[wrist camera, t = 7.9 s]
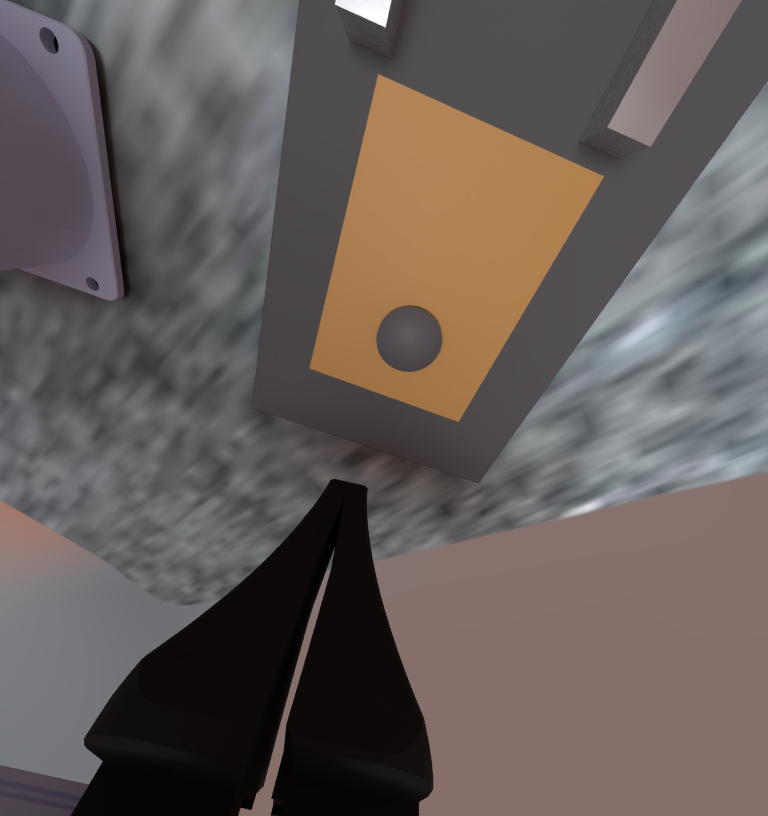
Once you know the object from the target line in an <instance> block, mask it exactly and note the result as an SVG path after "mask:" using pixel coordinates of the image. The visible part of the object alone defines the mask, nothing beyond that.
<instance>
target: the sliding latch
mask: <svg viewBox="0 0 768 816" xmlns="http://www.w3.org/2000/svg"><path fill="white" fill-rule="evenodd" d="M405 1H406V0H336V1H335V6H336V8H337V11H338V13H339V16H340V19H341V21H342V24H343V26H344V29H345V31H346V34H347V36H348V39H349V41H350V42H352V43H354V44H357V45H359V46H361V47H363V48H366V49H368V50H370V51H372V52H375V53H377V54H379V55H381V56H384V57H386V58H388V59H392V55H393V51H394V47H395V43H396V38H397V34H398V30H399V26H400V22H401V17H402V13H403V9H404V5H405ZM741 1H742V0H652V2H651V4H650V6H649V8H648V10H647V12H646V14H645V15H644V17H643V19H642V21H641V23H640V25H639V27H638V29H637V31H636V33H635V35H634V37H633V39H632V40H631V42H630V44H629V46H628V48H627V50H626V52H625V54H624V56H623V58H622V60H621V62H620V63H619V65H618V67H617V69H616V71H615V73H614V75H613V77H612V79H611V81H610V83H609V85H608V87H607V88H606V90H605V92H604V94H603V96H602V98H601V100H600V102H599V104H598V106H597V108H596V110H595V111H594V113H593V115H592V117H591V119H590V121H589V123H588V125H587V127H586V129H585V131H584V133H583V135H582V136H581V138H580V140H579V142H578V143H580V144H582V145H585V146H587V147H589V148H591V149H594V150H596V151H598V152H600V153H603V154H605V155H607V156H609V157H612V158H614V159H617V158H620V157H623V156H625V155H628V154H631V153H634V152H637V151H640V150H643V149H646V148H649V147H651V145H652V144H653V142H654V141H655V139H656V137H657V136H658V134H659V133H660V131H661V129H662V128H663V126H664V125H665V123H666V121H667V120H668V118H669V117H670V115H671V113H672V112H673V110H674V109H675V107H676V105H677V104H678V102H679V101H680V99H681V97H682V96H683V94H684V93H685V91H686V89H687V88H688V86H689V84H690V83H691V81H692V80H693V78H694V76H695V75H696V73H697V72H698V70H699V68H700V67H701V65H702V64H703V62H704V60H705V59H706V57H707V56H708V54H709V52H710V51H711V49H712V48H713V46H714V44H715V43H716V41H717V40H718V38H719V36H720V35H721V33H722V32H723V30H724V28H725V27H726V25H727V24H728V22H729V20H730V19H731V17H732V15H733V14H734V12H735V11H736V9H737V7H738V6H739V4H740V3H741Z"/></svg>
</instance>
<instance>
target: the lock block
mask: <svg viewBox="0 0 768 816" xmlns="http://www.w3.org/2000/svg"><path fill="white" fill-rule="evenodd" d="M603 177H604V176H602V175H600V174H598V173H595V172H593V171H591V170H589V169H587V168H584V167H582V166H580V165H578V164H576V163H573V162H571V161H569V160H567V159H565V158H562V157H560V156H558V155H556V154H554V153H551V152H549V151H547V150H545V149H543V148H540V147H538V146H536V145H534V144H532V143H529V142H527V141H525V140H523V139H521V138H518V137H516V136H514V135H512V134H510V133H507V132H505V131H503V130H501V129H498V128H496V127H494V126H492V125H490V124H487V123H485V122H483V121H481V120H479V119H476V118H474V117H472V116H470V115H468V114H465V113H463V112H461V111H459V110H457V109H454V108H452V107H450V106H448V105H446V104H443V103H441V102H439V101H437V100H435V99H432V98H430V97H428V96H426V95H424V94H421V93H419V92H417V91H415V90H413V89H410V88H408V87H406V86H404V85H402V84H399V83H397V82H395V81H393V80H391V79H388V78H386V77H384V76H382V75H380V74H378V78H377V82H376V86H375V90H374V95H373V99H372V103H371V108H370V112H369V116H368V120H367V125H366V129H365V133H364V137H363V142H362V146H361V150H360V155H359V159H358V163H357V167H356V172H355V176H354V180H353V184H352V189H351V193H350V197H349V201H348V206H347V210H346V214H345V219H344V223H343V227H342V231H341V236H340V240H339V244H338V248H337V253H336V257H335V261H334V266H333V270H332V274H331V278H330V283H329V287H328V291H327V295H326V300H325V304H324V308H323V313H322V317H321V321H320V325H319V330H318V334H317V338H316V342H315V347H314V351H313V355H312V359H311V364H310V369H313V370H315V371H318V372H321V373H324V374H326V375H329V376H332V377H335V378H338V379H340V380H343V381H346V382H349V383H352V384H354V385H357V386H360V387H363V388H365V389H368V390H371V391H374V392H377V393H379V394H382V395H385V396H388V397H391V398H393V399H396V400H399V401H402V402H404V403H407V404H410V405H413V406H416V407H418V408H421V409H424V410H427V411H429V412H432V413H435V414H438V415H441V416H443V417H446V418H449V419H452V420H455V421H457V422H459V420H460V419H461V417H462V415H463V414H464V412H465V410H466V409H467V407H468V405H469V404H470V402H471V400H472V398H473V397H474V395H475V393H476V392H477V390H478V388H479V387H480V385H481V383H482V382H483V380H484V378H485V377H486V375H487V373H488V371H489V370H490V368H491V366H492V365H493V363H494V361H495V360H496V358H497V356H498V355H499V353H500V351H501V350H502V348H503V346H504V344H505V343H506V341H507V339H508V338H509V336H510V334H511V333H512V331H513V329H514V328H515V326H516V324H517V323H518V321H519V319H520V317H521V316H522V314H523V312H524V311H525V309H526V307H527V306H528V304H529V302H530V301H531V299H532V297H533V296H534V294H535V292H536V290H537V289H538V287H539V285H540V284H541V282H542V280H543V279H544V277H545V275H546V274H547V272H548V270H549V269H550V267H551V265H552V263H553V262H554V260H555V258H556V257H557V255H558V253H559V252H560V250H561V248H562V247H563V245H564V243H565V242H566V240H567V238H568V236H569V235H570V233H571V231H572V230H573V228H574V226H575V225H576V223H577V221H578V220H579V218H580V216H581V215H582V213H583V211H584V209H585V208H586V206H587V204H588V203H589V201H590V199H591V198H592V196H593V194H594V193H595V191H596V189H597V188H598V186H599V184H600V182H601V181H602V179H603Z"/></svg>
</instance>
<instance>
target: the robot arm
mask: <svg viewBox="0 0 768 816" xmlns="http://www.w3.org/2000/svg"><path fill="white" fill-rule="evenodd" d="M55 36H56V38H57V41H58V44H59V50H58V52H57V51H56V49H55V46H54V37H55ZM12 269H20V270H23V271H25V272H28V273H31V274H34V275H37V276H40V277H43V278H46V279H48V280H51V281H54V282H57V283H60V284H63V285H66V286H68V287H71V288H74V289H77V290H80V291H83V292H86V293H89V294H91V295H94V296H97V297H100V298H103V299H106V300H110V301H114V300H118V299H121V298H122V297H123V296H124V285H123V277H122V270H121V262H120V254H119V246H118V238H117V230H116V222H115V214H114V206H113V198H112V190H111V182H110V174H109V166H108V158H107V150H106V142H105V134H104V126H103V118H102V110H101V102H100V94H99V86H98V78H97V70H96V62H95V58H94V54H93V51H92V49H91V47H90V45H89V43H88V41H87V40H86V39H85V38H84V36H83V35H82V34H80V33H79V32H77V31H76V30H74V29H72V28H71V27H69V26H67V25H65V24H63V23H61V22H58V21H56V20H54V19H51V18H49V17H46V16H44V15H41V14H39V13H37V12H34V11H32V10H29V9H27V8H25V7H22V6H20V5H17V4H15V3H13V2H10V1H8V0H0V271H3V270H12ZM95 280H96V282H97V283H98V285H99V287H98V285H97V284H96V282H95ZM367 491H368V489H367V487H366V486H363V485H359V484H355V483H350V482H346V481H341V480H337V479H332V480H330V482H329V484H328V485H327V487H326V489H325V490H324V492H323V493H322V495H321V496H320V498H319V499H318V501H317V502H316V503H315V505H314V506H313V507H312V509H311V510H310V511H309V512H308V514H307V515H306V516H305V517H304V519H303V520H302V521H301V522H300V523H299V525H298V526H297V527H296V528H295V529H294V530H293V531H292V532H291V534H290V535H289V536H288V537H287V538H286V539H285V540H284V541H283V542H282V544H281V545H280V546H279V547H278V548H277V549H276V550H275V551H274V552H273V553H272V554H271V555H270V556H269V557H268V558H267V559H266V560H265V561H264V562H263V563H262V564H261V565H260V566H259V567H257V568H256V569H255V570H254V571H253V572H252V573H251V574H250V575H249V576H248V577H246V578H245V579H244V580H243V581H242V582H241V583H240V584H239V585H237V586H236V587H235V588H234V589H233V590H232V591H230V592H229V593H228V594H227V595H226V596H224V597H223V598H222V599H221V600H219V601H218V602H217V603H216V604H214V605H213V606H212V607H211V608H209V609H208V610H207V611H206V612H204V613H203V614H202V615H201V616H199V617H198V618H197V619H196V620H194V621H193V622H192V623H190V624H189V625H188V626H186V627H185V628H184V629H182V630H181V631H179V632H178V633H177V634H175V635H174V636H173V637H171V638H170V639H168V640H167V641H166V642H164V643H163V644H162V645H160V646H159V647H157V648H156V649H155V650H153V651H152V652H151V653H149V654H147V655H146V656H145V657H144V658H143V659H142V660H141V661H140V662H139V663H138V664H137V665H136V666H135V668H134V669H133V670H132V671H131V672H130V673H129V675H128V676H127V677H126V679H125V680H124V681H123V682H122V684H121V685H120V686H119V687H118V689H117V690H116V691H115V693H114V694H113V695H112V697H111V698H110V699H109V701H108V702H107V704H106V705H105V707H104V709H103V710H102V712H101V713H100V715H99V716H98V718H97V719H96V721H95V723H94V724H93V725H92V727H91V729H90V730H89V732H88V733H87V735H86V737H85V738H84V745H85V747H86V748H87V749H88V750H90V751H91V752H92V753H93V754H95V755H96V756H97V757H98V758H100V759H101V760H102V761H103V762H102V764H101V765H100V767H99V769H98V770H97V772H96V774H95V776H94V778H93V779H92V781H91V782H90V784H89V785H88V784H84V783H78V782H74V781H70V780H65V779H61V778H56V777H52V776H47V775H42V774H38V773H33V772H28V771H24V770H19V769H15V768H10V767H6V766H1V765H0V816H238V815H239V811H240V808H244V809H249V810H251V809H252V807H253V803H254V800H255V796H256V793H257V792H258V791H259V790H260V789H261V788H262V787H263V786H264V782H265V779H266V775H267V771H268V767H269V764H270V760H271V756H272V752H273V749H274V745H275V741H276V737H277V734H278V730H279V726H280V722H281V719H282V715H283V711H284V708H285V704H286V701H287V697H288V693H289V689H290V686H291V682H292V678H293V675H294V671H295V668H296V664H297V660H298V657H299V653H300V650H301V646H302V642H303V639H304V635H305V631H306V628H307V624H308V621H309V618H310V615H311V611H312V608H313V605H314V603H315V600H316V597H317V594H318V592H319V589H320V586H321V583H322V581H323V578H324V575H325V572H326V570H327V567H328V564H329V561H330V559H331V556H332V553H333V550H334V548H335V551H334V556H333V562H332V568H331V571H330V575H329V579H328V582H327V586H326V590H325V593H324V596H323V600H322V603H321V607H320V611H319V614H318V618H317V621H316V625H315V628H314V632H313V635H312V638H311V642H310V645H309V649H308V652H307V656H306V659H305V663H304V666H303V670H302V673H301V676H300V680H299V683H298V687H297V690H296V694H295V697H294V700H293V704H292V707H291V711H290V714H289V717H288V721H287V724H286V734H285V743H284V752H283V756H282V760H281V763H280V767H279V771H278V775H277V779H276V782H275V786H274V790H273V794H272V799H274V800H273V808H272V812H271V816H419V802H420V801H421V800H423V799H425V798H426V797H428V796H429V795H430V793H431V792H432V790H433V771H432V760H431V753H430V747H429V741H428V736H427V731H426V727H425V721H424V717H423V715H422V712H421V710H420V707H419V705H418V703H417V700H416V698H415V695H414V693H413V690H412V688H411V685H410V683H409V680H408V677H407V675H406V672H405V669H404V667H403V664H402V661H401V658H400V656H399V653H398V650H397V647H396V644H395V641H394V638H393V635H392V632H391V628H390V626H389V622H388V619H387V616H386V613H385V609H384V605H383V602H382V598H381V594H380V590H379V587H378V582H377V578H376V573H375V568H374V563H373V558H372V552H371V546H370V539H369V531H368V521H367Z"/></svg>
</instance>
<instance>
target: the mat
mask: <svg viewBox="0 0 768 816" xmlns="http://www.w3.org/2000/svg"><path fill="white" fill-rule="evenodd" d="M335 1H336V0H299V8H298V17H297V25H296V34H295V43H294V51H293V60H292V68H291V77H290V85H289V94H288V102H287V111H286V120H285V128H284V137H283V145H282V154H281V162H280V171H279V179H278V188H277V197H276V205H275V214H274V222H273V231H272V239H271V248H270V257H269V265H268V274H267V282H266V291H265V299H264V308H263V316H262V325H261V334H260V342H259V351H258V359H257V368H256V376H255V385H254V393H253V402H252V408H253V409H256V410H259V411H262V412H265V413H268V414H271V415H274V416H277V417H280V418H283V419H286V420H289V421H292V422H295V423H298V424H301V425H304V426H307V427H310V428H313V429H316V430H319V431H322V432H325V433H328V434H331V435H334V436H337V437H340V438H343V439H346V440H349V441H352V442H355V443H358V444H361V445H364V446H367V447H370V448H373V449H376V450H379V451H382V452H385V453H388V454H391V455H394V456H397V457H400V458H403V459H406V460H409V461H412V462H415V463H418V464H421V465H424V466H427V467H430V468H433V469H436V470H439V471H442V472H445V473H448V474H452V475H455V476H458V477H461V478H464V479H467V480H470V481H473V482H476V483H479V482H480V480H481V479H482V477H483V476H484V475H485V473H486V472H487V470H488V469H489V468H490V466H491V465H492V463H493V462H494V461H495V459H496V458H497V456H498V455H499V454H500V452H501V451H502V449H503V448H504V447H505V445H506V444H507V443H508V441H509V440H510V438H511V437H512V436H513V434H514V433H515V431H516V430H517V429H518V427H519V426H520V424H521V423H522V422H523V420H524V419H525V417H526V416H527V415H528V413H529V412H530V411H531V409H532V408H533V406H534V405H535V404H536V402H537V401H538V399H539V398H540V397H541V395H542V394H543V392H544V391H545V390H546V388H547V387H548V385H549V384H550V383H551V381H552V380H553V379H554V377H555V376H556V374H557V373H558V372H559V370H560V369H561V367H562V366H563V365H564V363H565V362H566V360H567V359H568V358H569V356H570V355H571V353H572V352H573V351H574V349H575V348H576V347H577V345H578V344H579V342H580V341H581V340H582V338H583V337H584V335H585V334H586V333H587V331H588V330H589V328H590V327H591V326H592V324H593V323H594V321H595V320H596V319H597V317H598V316H599V315H600V313H601V312H602V310H603V309H604V308H605V306H606V305H607V303H608V302H609V301H610V299H611V298H612V296H613V295H614V294H615V292H616V291H617V289H618V288H619V287H620V285H621V284H622V282H623V281H624V280H625V278H626V277H627V276H628V274H629V273H630V271H631V270H632V269H633V267H634V266H635V264H636V263H637V262H638V260H639V259H640V257H641V256H642V255H643V253H644V252H645V250H646V249H647V248H648V246H649V245H650V244H651V242H652V241H653V239H654V238H655V237H656V235H657V234H658V232H659V231H660V230H661V228H662V227H663V225H664V224H665V223H666V221H667V220H668V218H669V217H670V216H671V214H672V213H673V212H674V210H675V209H676V207H677V206H678V205H679V203H680V202H681V200H682V199H683V198H684V196H685V195H686V193H687V192H688V191H689V189H690V188H691V186H692V185H693V184H694V182H695V181H696V180H697V178H698V177H699V175H700V174H701V173H702V171H703V170H704V168H705V167H706V166H707V164H708V163H709V161H710V160H711V159H712V157H713V156H714V154H715V153H716V152H717V150H718V149H719V148H720V146H721V145H722V143H723V142H724V141H725V139H726V138H727V136H728V135H729V134H730V132H731V131H732V129H733V128H734V127H735V125H736V124H737V122H738V121H739V120H740V118H741V117H742V115H743V114H744V113H745V111H746V110H747V109H748V107H749V106H750V104H751V103H752V102H753V100H754V99H755V97H756V96H757V95H758V93H759V92H760V90H761V89H762V88H763V86H764V85H765V83H766V82H767V81H768V0H742V1H741V3H740V4H739V6H738V7H737V9H736V11H735V12H734V14H733V15H732V17H731V19H730V20H729V22H728V24H727V25H726V27H725V28H724V30H723V32H722V33H721V35H720V36H719V38H718V40H717V41H716V43H715V44H714V46H713V48H712V49H711V51H710V52H709V54H708V56H707V57H706V59H705V60H704V62H703V64H702V65H701V67H700V68H699V70H698V72H697V73H696V75H695V76H694V78H693V80H692V81H691V83H690V84H689V86H688V88H687V89H686V91H685V93H684V94H683V96H682V97H681V99H680V101H679V102H678V104H677V105H676V107H675V109H674V110H673V112H672V113H671V115H670V117H669V118H668V120H667V121H666V123H665V125H664V126H663V128H662V129H661V131H660V133H659V134H658V136H657V137H656V139H655V141H654V142H653V144H652V145H651V147H649V148H646V149H643V150H640V151H637V152H634V153H631V154H628V155H625V156H623V157H620V158H617V159H614V158H612V157H609V156H607V155H605V154H603V153H600V152H598V151H596V150H594V149H591V148H589V147H587V146H585V145H582V144H580V143H578V142H579V140H580V138H581V136H582V135H583V133H584V131H585V129H586V127H587V125H588V123H589V121H590V119H591V117H592V115H593V113H594V111H595V110H596V108H597V106H598V104H599V102H600V100H601V98H602V96H603V94H604V92H605V90H606V88H607V87H608V85H609V83H610V81H611V79H612V77H613V75H614V73H615V71H616V69H617V67H618V65H619V63H620V62H621V60H622V58H623V56H624V54H625V52H626V50H627V48H628V46H629V44H630V42H631V40H632V39H633V37H634V35H635V33H636V31H637V29H638V27H639V25H640V23H641V21H642V19H643V17H644V15H645V14H646V12H647V10H648V8H649V6H650V4H651V2H652V0H406V1H405V5H404V9H403V13H402V17H401V22H400V26H399V30H398V34H397V38H396V43H395V47H394V51H393V55H392V59H388V58H386V57H384V56H381V55H379V54H377V53H375V52H372V51H370V50H368V49H366V48H363V47H361V46H359V45H357V44H354V43H352V42H350V41H349V39H348V36H347V34H346V31H345V29H344V26H343V24H342V21H341V19H340V16H339V13H338V11H337V8H336V6H335ZM378 74H380V75H382V76H384V77H386V78H388V79H391V80H393V81H395V82H397V83H399V84H402V85H404V86H406V87H408V88H410V89H413V90H415V91H417V92H419V93H421V94H424V95H426V96H428V97H430V98H432V99H435V100H437V101H439V102H441V103H443V104H446V105H448V106H450V107H452V108H454V109H457V110H459V111H461V112H463V113H465V114H468V115H470V116H472V117H474V118H476V119H479V120H481V121H483V122H485V123H487V124H490V125H492V126H494V127H496V128H498V129H501V130H503V131H505V132H507V133H510V134H512V135H514V136H516V137H518V138H521V139H523V140H525V141H527V142H529V143H532V144H534V145H536V146H538V147H540V148H543V149H545V150H547V151H549V152H551V153H554V154H556V155H558V156H560V157H562V158H565V159H567V160H569V161H571V162H573V163H576V164H578V165H580V166H582V167H584V168H587V169H589V170H591V171H593V172H595V173H598V174H600V175H602V176H604V177H603V179H602V181H601V182H600V184H599V186H598V188H597V189H596V191H595V193H594V194H593V196H592V198H591V199H590V201H589V203H588V204H587V206H586V208H585V209H584V211H583V213H582V215H581V216H580V218H579V220H578V221H577V223H576V225H575V226H574V228H573V230H572V231H571V233H570V235H569V236H568V238H567V240H566V242H565V243H564V245H563V247H562V248H561V250H560V252H559V253H558V255H557V257H556V258H555V260H554V262H553V263H552V265H551V267H550V269H549V270H548V272H547V274H546V275H545V277H544V279H543V280H542V282H541V284H540V285H539V287H538V289H537V290H536V292H535V294H534V296H533V297H532V299H531V301H530V302H529V304H528V306H527V307H526V309H525V311H524V312H523V314H522V316H521V317H520V319H519V321H518V323H517V324H516V326H515V328H514V329H513V331H512V333H511V334H510V336H509V338H508V339H507V341H506V343H505V344H504V346H503V348H502V350H501V351H500V353H499V355H498V356H497V358H496V360H495V361H494V363H493V365H492V366H491V368H490V370H489V371H488V373H487V375H486V377H485V378H484V380H483V382H482V383H481V385H480V387H479V388H478V390H477V392H476V393H475V395H474V397H473V398H472V400H471V402H470V404H469V405H468V407H467V409H466V410H465V412H464V414H463V415H462V417H461V419H460V420H459V422H457V421H455V420H452V419H449V418H446V417H443V416H441V415H438V414H435V413H432V412H429V411H427V410H424V409H421V408H418V407H416V406H413V405H410V404H407V403H404V402H402V401H399V400H396V399H393V398H391V397H388V396H385V395H382V394H379V393H377V392H374V391H371V390H368V389H365V388H363V387H360V386H357V385H354V384H352V383H349V382H346V381H343V380H340V379H338V378H335V377H332V376H329V375H326V374H324V373H321V372H318V371H315V370H313V369H310V364H311V359H312V355H313V351H314V347H315V342H316V338H317V334H318V330H319V325H320V321H321V317H322V313H323V308H324V304H325V300H326V295H327V291H328V287H329V283H330V278H331V274H332V270H333V266H334V261H335V257H336V253H337V248H338V244H339V240H340V236H341V231H342V227H343V223H344V219H345V214H346V210H347V206H348V201H349V197H350V193H351V189H352V184H353V180H354V176H355V172H356V167H357V163H358V159H359V155H360V150H361V146H362V142H363V137H364V133H365V129H366V125H367V120H368V116H369V112H370V108H371V103H372V99H373V95H374V90H375V86H376V82H377V78H378Z"/></svg>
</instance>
